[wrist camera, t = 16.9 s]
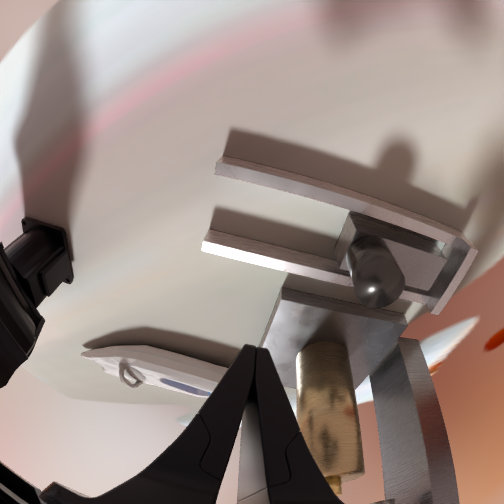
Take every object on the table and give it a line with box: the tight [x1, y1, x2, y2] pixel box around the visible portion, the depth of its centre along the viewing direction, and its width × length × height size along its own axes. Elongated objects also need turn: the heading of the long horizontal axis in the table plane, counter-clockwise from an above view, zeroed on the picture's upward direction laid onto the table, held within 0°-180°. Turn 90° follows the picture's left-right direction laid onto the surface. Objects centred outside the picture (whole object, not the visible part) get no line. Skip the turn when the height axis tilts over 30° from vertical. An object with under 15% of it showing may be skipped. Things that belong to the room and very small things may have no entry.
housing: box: [296, 341, 365, 496], centre depth 19 cm, size 5×5×14 cm
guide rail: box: [202, 156, 478, 315], centre depth 19 cm, size 20×6×3 cm, turn 77°
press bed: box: [259, 288, 459, 504], centre depth 17 cm, size 16×12×21 cm
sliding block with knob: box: [334, 214, 447, 308], centre depth 17 cm, size 8×3×6 cm, turn 77°
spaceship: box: [81, 345, 228, 397], centre depth 29 cm, size 23×7×4 cm, turn 94°
